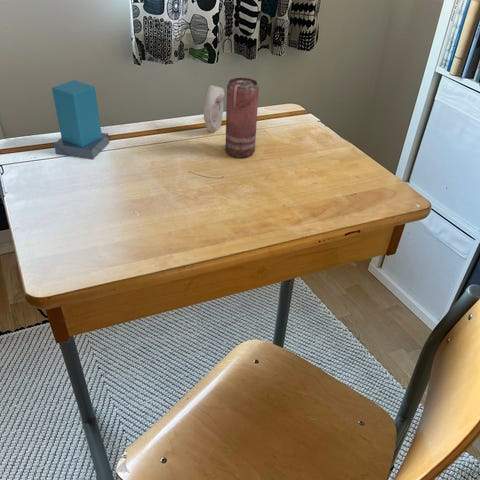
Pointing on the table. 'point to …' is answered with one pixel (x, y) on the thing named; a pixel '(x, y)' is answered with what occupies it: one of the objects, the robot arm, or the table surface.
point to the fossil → (213, 108)
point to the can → (241, 117)
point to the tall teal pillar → (77, 112)
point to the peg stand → (82, 148)
